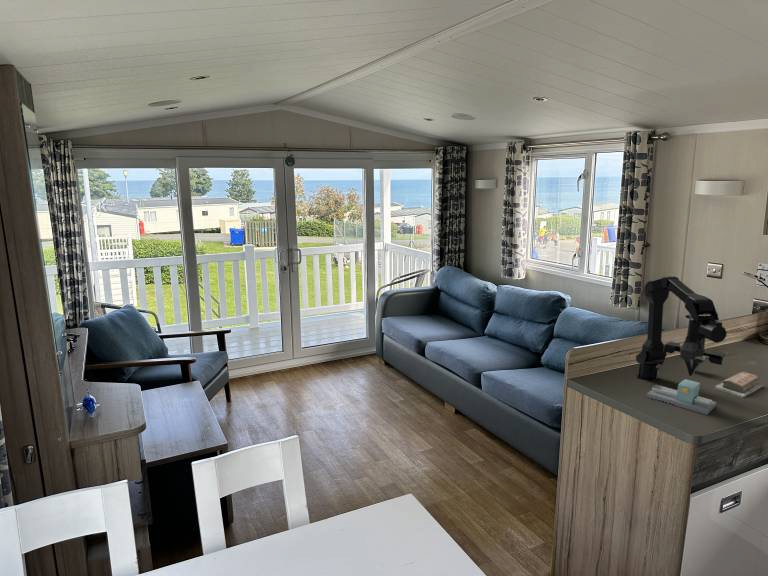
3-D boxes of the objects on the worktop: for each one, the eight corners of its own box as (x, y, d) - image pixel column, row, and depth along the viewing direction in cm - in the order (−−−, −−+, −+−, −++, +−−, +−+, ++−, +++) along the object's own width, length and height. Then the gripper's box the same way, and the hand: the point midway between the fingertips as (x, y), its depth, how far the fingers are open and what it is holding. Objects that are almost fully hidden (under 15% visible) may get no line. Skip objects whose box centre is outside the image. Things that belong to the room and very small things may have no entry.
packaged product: (736, 368, 216) (764, 376, 208) (734, 379, 217) (762, 388, 209) (716, 378, 205) (745, 386, 197) (714, 389, 206) (743, 399, 198)
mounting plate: (646, 397, 198) (647, 393, 198) (656, 389, 205) (657, 385, 205) (707, 414, 184) (707, 410, 184) (715, 406, 191) (716, 402, 191)
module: (675, 400, 192) (677, 384, 190) (682, 394, 197) (684, 379, 196) (690, 405, 188) (693, 389, 187) (697, 398, 194) (700, 383, 192)
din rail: (651, 391, 200) (652, 387, 199) (655, 388, 202) (655, 384, 202) (708, 407, 186) (709, 403, 186) (712, 404, 189) (712, 400, 189)
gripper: (660, 332, 188) (654, 374, 192) (720, 344, 175) (713, 389, 179) (671, 326, 196) (665, 366, 199) (729, 337, 183) (723, 380, 186)
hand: (690, 375), depth 191 cm, fingers closed
